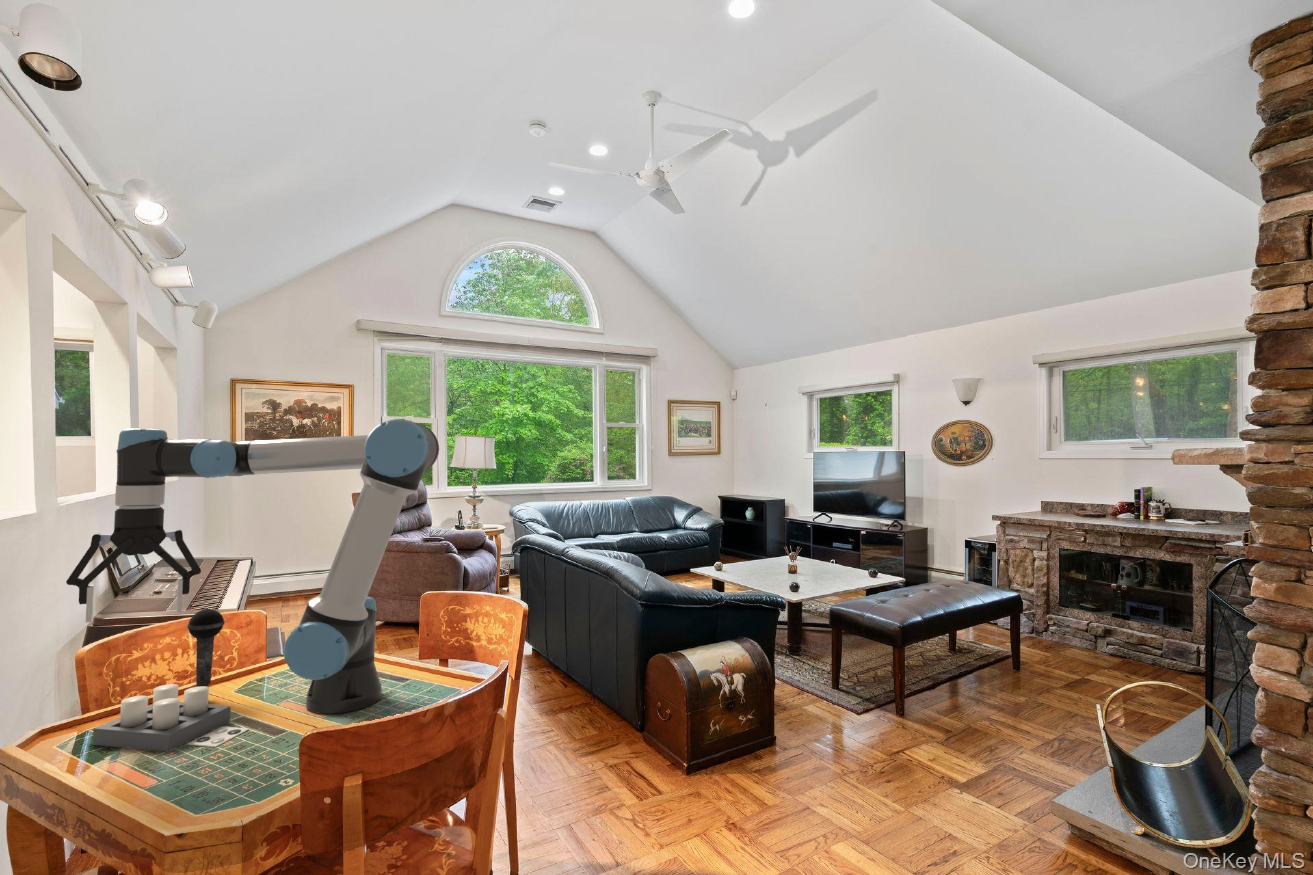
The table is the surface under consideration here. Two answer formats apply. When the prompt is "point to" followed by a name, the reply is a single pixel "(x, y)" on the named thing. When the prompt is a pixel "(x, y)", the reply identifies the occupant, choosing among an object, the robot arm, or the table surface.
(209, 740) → the card
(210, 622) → the microphone
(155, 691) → the button
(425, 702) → the table surface
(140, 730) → the button board
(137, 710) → the button
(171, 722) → the button
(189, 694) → the button
